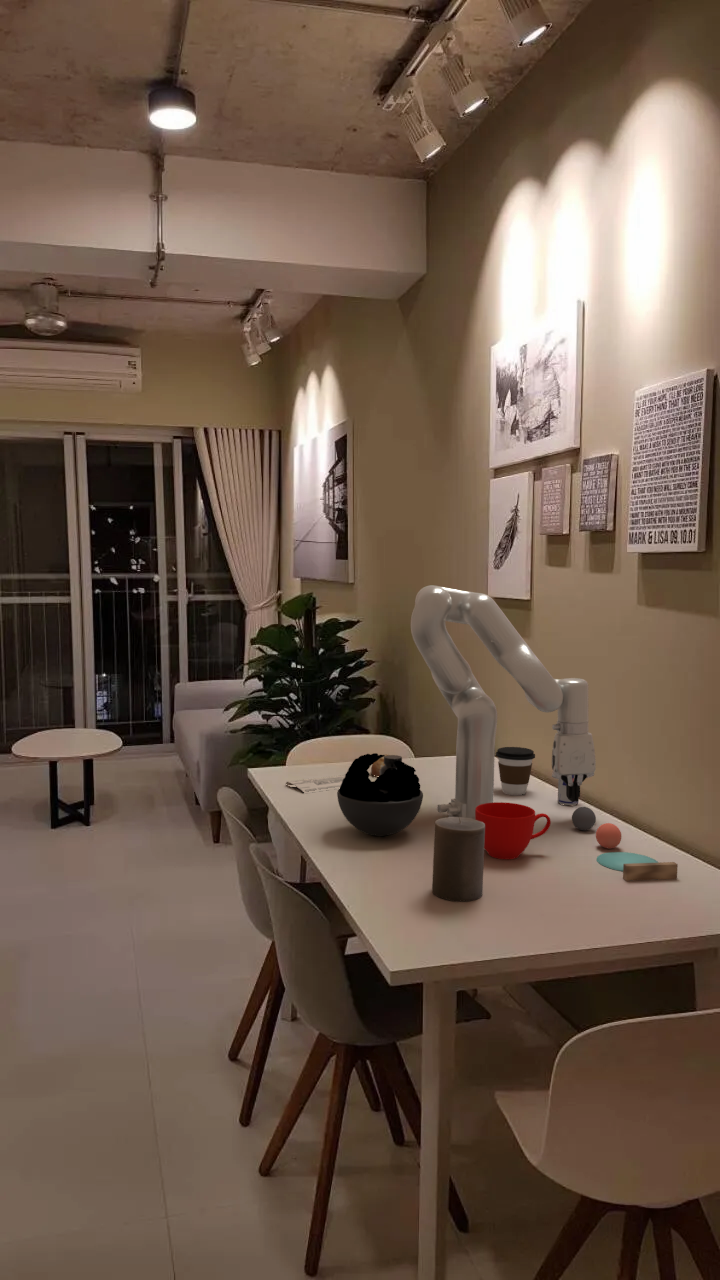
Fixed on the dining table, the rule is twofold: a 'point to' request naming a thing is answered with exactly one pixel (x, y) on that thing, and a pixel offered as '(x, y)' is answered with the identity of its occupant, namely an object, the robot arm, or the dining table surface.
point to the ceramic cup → (508, 828)
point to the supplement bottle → (390, 762)
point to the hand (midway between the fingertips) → (573, 800)
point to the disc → (622, 859)
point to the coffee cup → (515, 769)
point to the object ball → (608, 835)
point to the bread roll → (377, 766)
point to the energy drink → (564, 793)
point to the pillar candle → (458, 859)
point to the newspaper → (318, 783)
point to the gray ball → (583, 818)
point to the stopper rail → (650, 871)
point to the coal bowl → (379, 797)
